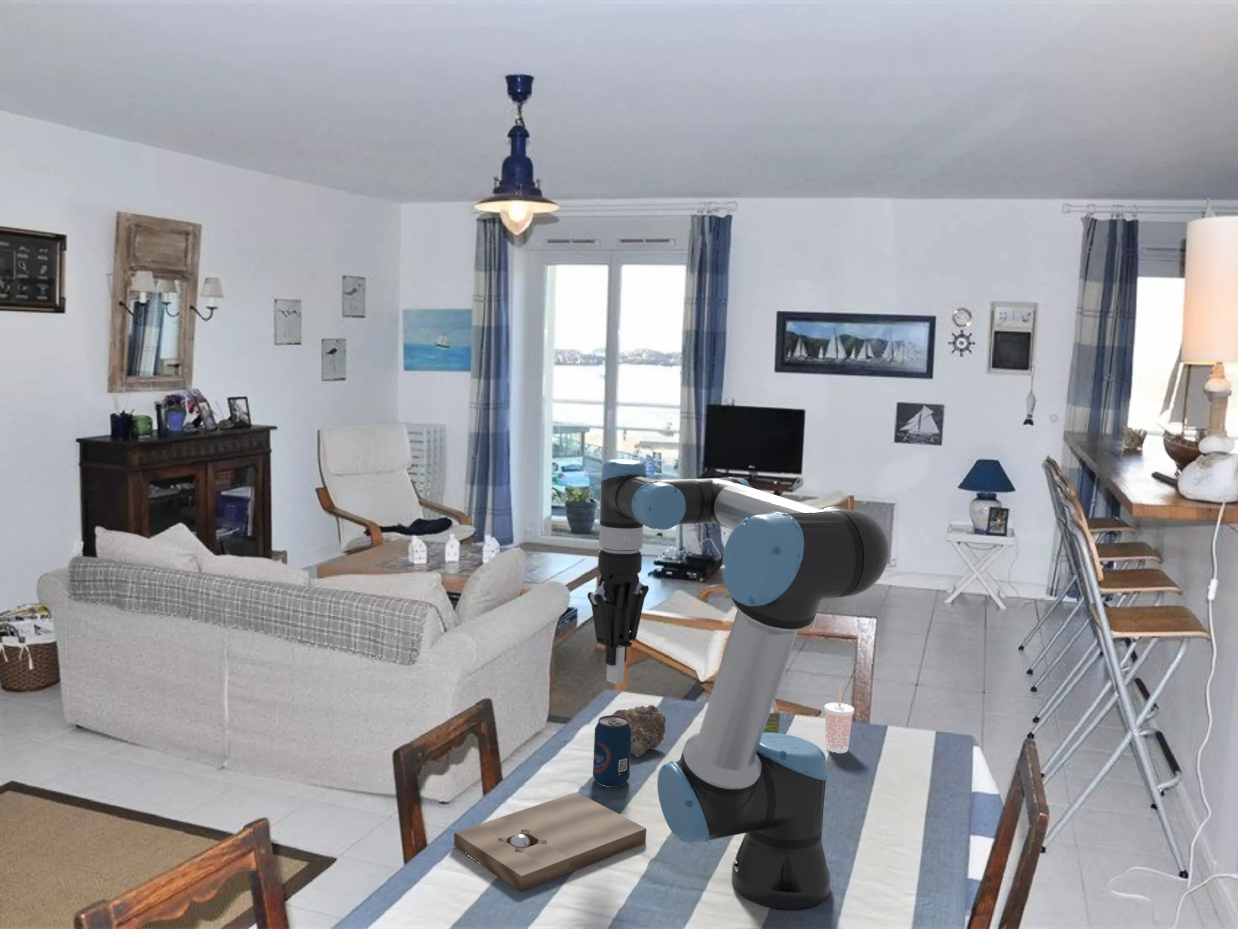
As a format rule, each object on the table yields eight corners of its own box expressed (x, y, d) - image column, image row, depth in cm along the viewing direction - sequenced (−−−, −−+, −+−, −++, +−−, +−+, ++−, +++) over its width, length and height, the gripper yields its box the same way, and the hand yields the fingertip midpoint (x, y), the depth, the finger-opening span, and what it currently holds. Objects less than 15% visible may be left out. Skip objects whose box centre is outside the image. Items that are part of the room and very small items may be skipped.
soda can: (585, 779, 205) (587, 718, 204) (614, 771, 210) (617, 711, 208) (607, 792, 200) (609, 729, 198) (636, 784, 204) (639, 722, 203)
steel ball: (538, 842, 174) (524, 834, 172) (528, 862, 173) (514, 855, 171) (525, 835, 177) (511, 828, 175) (515, 856, 176) (501, 849, 174)
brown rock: (623, 765, 213) (609, 715, 215) (603, 765, 221) (589, 717, 222) (680, 742, 220) (667, 695, 222) (659, 743, 228) (645, 697, 229)
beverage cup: (820, 752, 224) (824, 686, 222) (823, 741, 230) (827, 677, 228) (850, 756, 222) (854, 690, 221) (852, 746, 228) (857, 681, 226)
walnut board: (645, 842, 181) (646, 828, 180) (521, 891, 163) (521, 876, 163) (576, 805, 194) (576, 792, 193) (453, 847, 176) (454, 832, 176)
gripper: (631, 541, 194) (626, 669, 197) (577, 549, 185) (572, 683, 187) (662, 548, 189) (656, 680, 191) (608, 557, 179) (602, 695, 182)
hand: (614, 681), depth 189 cm, fingers closed
